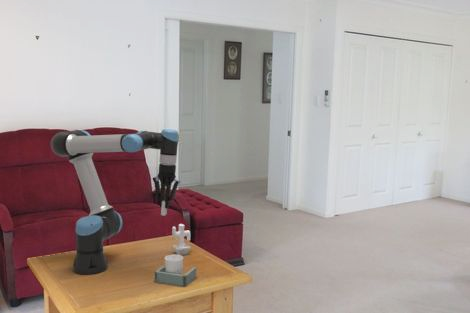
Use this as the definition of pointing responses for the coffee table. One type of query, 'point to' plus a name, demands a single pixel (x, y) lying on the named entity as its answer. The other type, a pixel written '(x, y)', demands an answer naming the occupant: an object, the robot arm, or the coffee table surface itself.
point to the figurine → (181, 240)
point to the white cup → (174, 264)
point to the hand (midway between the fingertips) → (163, 214)
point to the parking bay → (174, 277)
